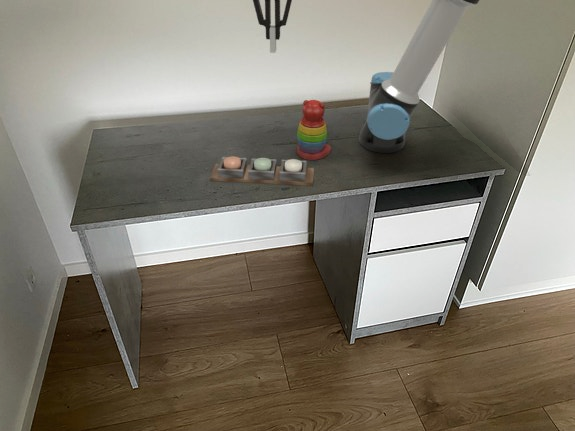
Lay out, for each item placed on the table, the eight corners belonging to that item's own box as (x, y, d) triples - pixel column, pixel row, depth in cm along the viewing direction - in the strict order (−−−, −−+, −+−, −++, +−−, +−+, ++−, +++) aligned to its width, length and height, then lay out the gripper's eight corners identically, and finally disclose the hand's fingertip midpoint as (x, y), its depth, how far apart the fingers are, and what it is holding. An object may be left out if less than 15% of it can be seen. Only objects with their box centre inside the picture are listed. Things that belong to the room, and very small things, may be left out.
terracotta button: (242, 165, 141) (241, 156, 139) (239, 174, 137) (239, 165, 135) (225, 164, 141) (225, 155, 139) (222, 173, 137) (222, 164, 135)
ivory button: (302, 168, 140) (302, 159, 138) (301, 177, 136) (301, 168, 134) (285, 167, 140) (285, 158, 138) (284, 176, 136) (284, 167, 134)
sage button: (272, 166, 140) (272, 158, 139) (270, 175, 136) (270, 167, 135) (255, 166, 141) (255, 157, 139) (253, 175, 137) (252, 166, 135)
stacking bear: (333, 149, 153) (337, 97, 142) (321, 163, 145) (324, 110, 134) (302, 142, 156) (304, 91, 145) (289, 156, 149) (290, 103, 138)
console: (313, 170, 142) (314, 160, 140) (312, 185, 136) (313, 175, 133) (215, 166, 144) (214, 156, 141) (210, 180, 137) (209, 170, 135)
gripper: (299, -47, 119) (297, 47, 133) (248, -48, 120) (251, 46, 134) (297, -42, 113) (295, 56, 128) (243, -43, 114) (248, 54, 128)
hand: (273, 51), depth 131 cm, fingers closed
